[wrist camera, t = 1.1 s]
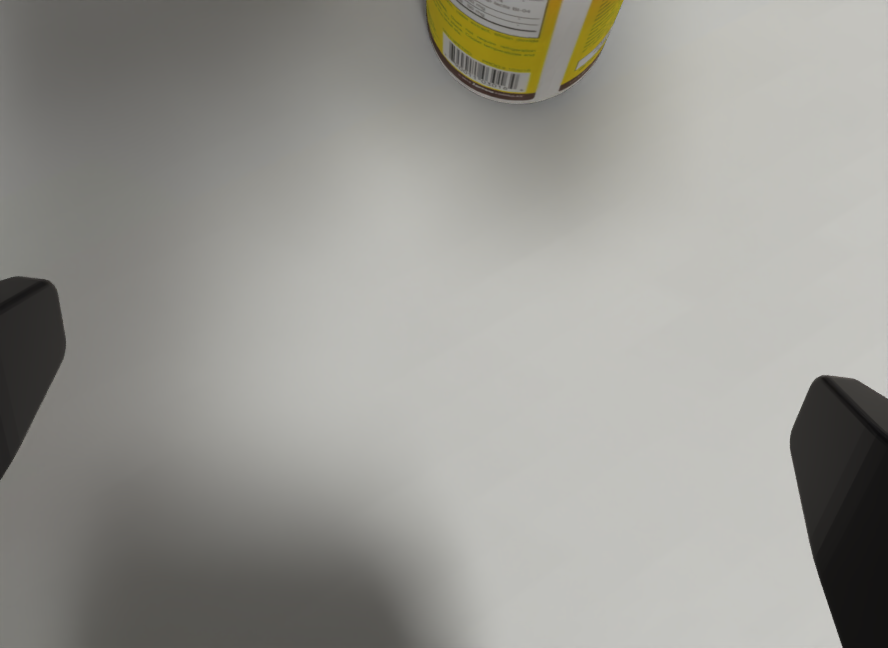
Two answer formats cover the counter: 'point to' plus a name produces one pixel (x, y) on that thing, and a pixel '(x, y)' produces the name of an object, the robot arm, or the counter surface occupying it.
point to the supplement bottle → (519, 44)
